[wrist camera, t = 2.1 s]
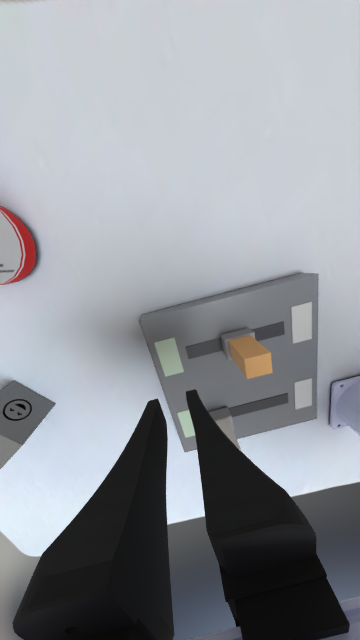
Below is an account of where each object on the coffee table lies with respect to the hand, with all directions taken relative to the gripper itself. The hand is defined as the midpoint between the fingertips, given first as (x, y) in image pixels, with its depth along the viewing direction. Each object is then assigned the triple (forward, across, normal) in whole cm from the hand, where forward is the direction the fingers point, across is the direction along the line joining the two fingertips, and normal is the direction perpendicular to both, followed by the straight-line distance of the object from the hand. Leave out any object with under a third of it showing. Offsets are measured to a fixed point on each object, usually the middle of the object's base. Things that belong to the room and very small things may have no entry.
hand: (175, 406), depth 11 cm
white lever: (+6, -3, +9) cm, 11 cm away
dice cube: (+9, +18, +2) cm, 21 cm away
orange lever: (+6, -6, 0) cm, 9 cm away
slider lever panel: (+8, -6, +4) cm, 12 cm away
